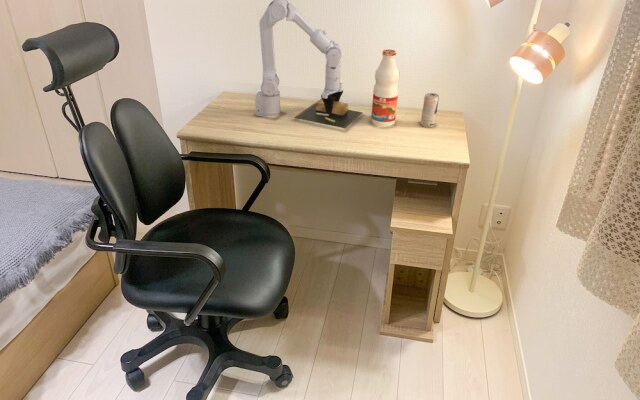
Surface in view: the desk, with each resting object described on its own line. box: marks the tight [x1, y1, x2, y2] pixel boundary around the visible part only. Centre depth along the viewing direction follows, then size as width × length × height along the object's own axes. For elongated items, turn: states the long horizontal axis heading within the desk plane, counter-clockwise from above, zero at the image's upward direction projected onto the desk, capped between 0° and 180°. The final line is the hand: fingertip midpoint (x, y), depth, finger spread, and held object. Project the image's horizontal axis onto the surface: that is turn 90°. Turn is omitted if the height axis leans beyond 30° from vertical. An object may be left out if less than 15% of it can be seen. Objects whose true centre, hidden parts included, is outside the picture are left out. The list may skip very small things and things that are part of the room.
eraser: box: [315, 98, 349, 118], centre depth 192 cm, size 12×5×4 cm, turn 64°
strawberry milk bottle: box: [370, 49, 400, 126], centre depth 180 cm, size 9×9×28 cm
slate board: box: [294, 102, 364, 129], centre depth 191 cm, size 22×18×1 cm
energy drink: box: [420, 92, 440, 128], centre depth 184 cm, size 5×5×12 cm
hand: (331, 110), depth 192 cm, fingers closed on eraser, 5 cm apart
